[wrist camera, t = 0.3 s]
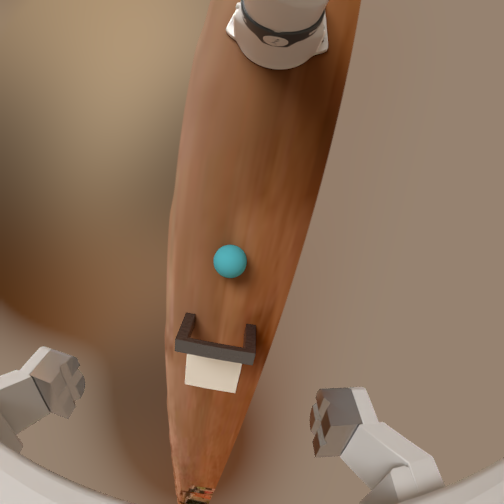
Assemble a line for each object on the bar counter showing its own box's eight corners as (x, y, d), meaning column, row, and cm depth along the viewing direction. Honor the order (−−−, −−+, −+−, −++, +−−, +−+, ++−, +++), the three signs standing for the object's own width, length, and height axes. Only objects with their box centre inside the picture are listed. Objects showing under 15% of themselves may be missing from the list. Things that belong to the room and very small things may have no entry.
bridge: (186, 312, 59) (175, 338, 50) (255, 325, 60) (255, 353, 51) (185, 323, 60) (174, 350, 51) (253, 336, 61) (252, 365, 52)
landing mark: (187, 345, 62) (187, 346, 62) (243, 355, 63) (243, 356, 63) (185, 383, 67) (184, 383, 66) (235, 392, 67) (235, 393, 67)
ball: (218, 238, 54) (213, 248, 48) (250, 243, 54) (249, 254, 49) (213, 267, 56) (209, 280, 50) (244, 272, 56) (242, 286, 51)
